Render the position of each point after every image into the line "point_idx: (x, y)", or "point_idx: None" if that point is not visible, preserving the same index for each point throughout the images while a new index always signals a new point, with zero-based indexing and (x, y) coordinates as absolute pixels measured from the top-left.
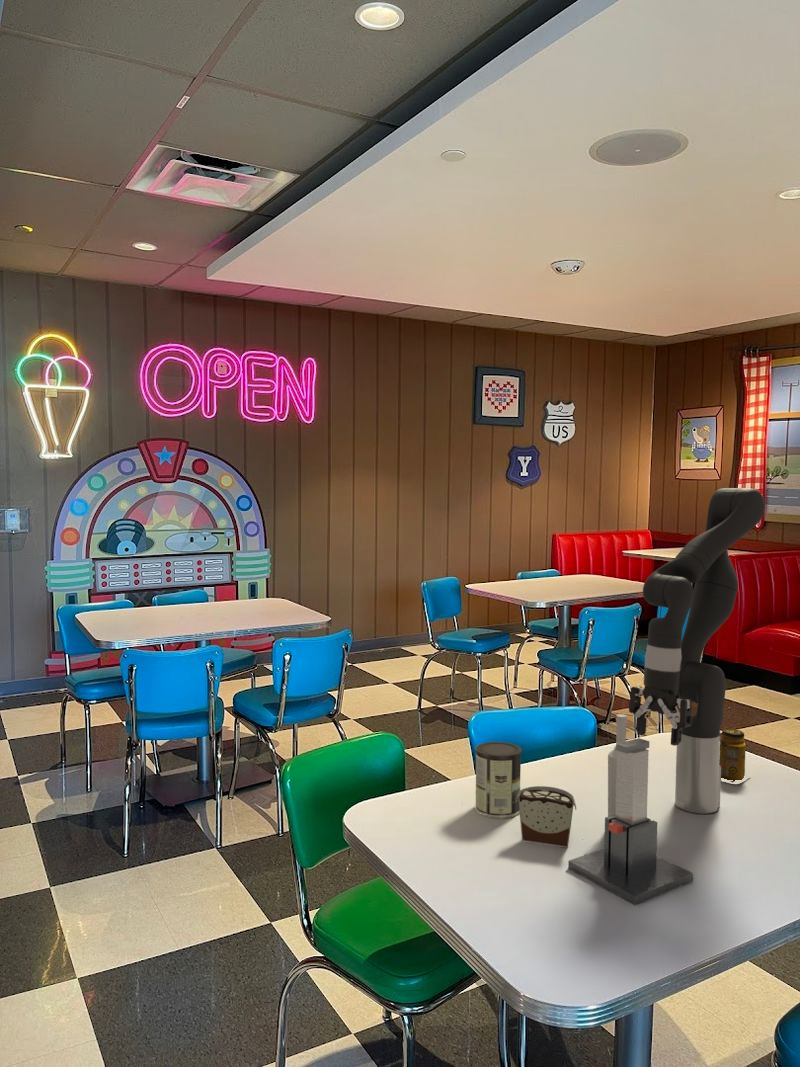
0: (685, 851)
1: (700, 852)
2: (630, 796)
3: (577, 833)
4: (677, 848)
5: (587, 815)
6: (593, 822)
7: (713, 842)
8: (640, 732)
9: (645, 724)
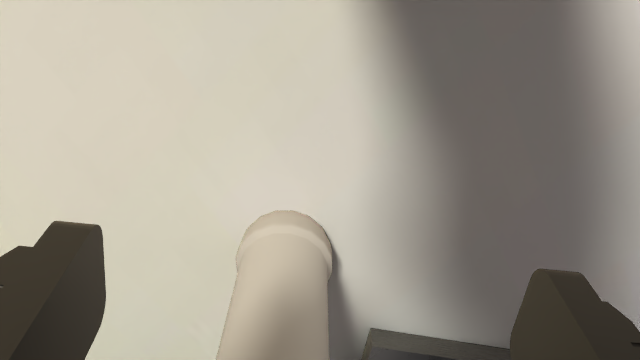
0: (543, 221)
1: (593, 193)
2: None
3: (197, 337)
4: (511, 220)
5: (108, 202)
6: (169, 238)
7: (619, 76)
8: (94, 324)
9: (52, 312)
